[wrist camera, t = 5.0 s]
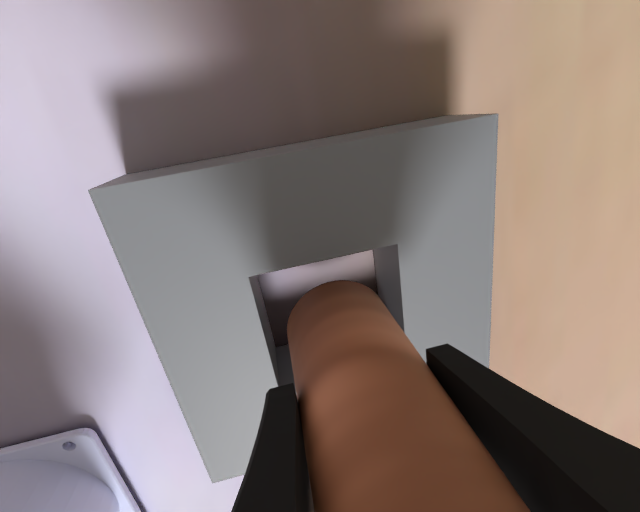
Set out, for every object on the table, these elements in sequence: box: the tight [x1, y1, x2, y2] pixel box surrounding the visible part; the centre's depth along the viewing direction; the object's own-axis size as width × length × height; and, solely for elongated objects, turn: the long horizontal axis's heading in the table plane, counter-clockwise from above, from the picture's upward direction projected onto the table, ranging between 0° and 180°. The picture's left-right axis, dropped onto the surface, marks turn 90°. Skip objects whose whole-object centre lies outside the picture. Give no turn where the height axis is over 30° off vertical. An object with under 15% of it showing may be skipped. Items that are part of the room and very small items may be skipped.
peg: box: [287, 280, 531, 512], centre depth 8 cm, size 4×4×8 cm
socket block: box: [88, 114, 498, 483], centre depth 14 cm, size 12×12×3 cm
